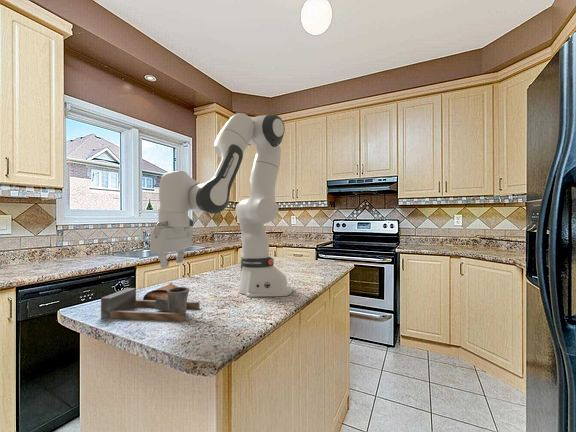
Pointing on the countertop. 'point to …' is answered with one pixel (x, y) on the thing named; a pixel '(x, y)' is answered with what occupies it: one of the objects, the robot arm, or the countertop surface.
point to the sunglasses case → (159, 292)
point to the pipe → (173, 301)
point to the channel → (126, 299)
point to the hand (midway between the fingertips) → (172, 265)
